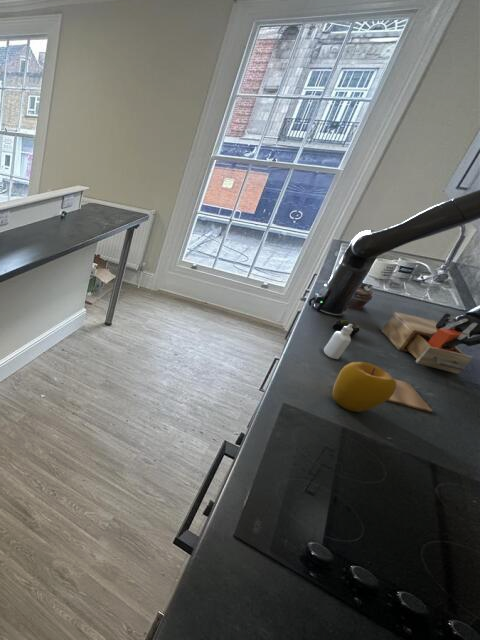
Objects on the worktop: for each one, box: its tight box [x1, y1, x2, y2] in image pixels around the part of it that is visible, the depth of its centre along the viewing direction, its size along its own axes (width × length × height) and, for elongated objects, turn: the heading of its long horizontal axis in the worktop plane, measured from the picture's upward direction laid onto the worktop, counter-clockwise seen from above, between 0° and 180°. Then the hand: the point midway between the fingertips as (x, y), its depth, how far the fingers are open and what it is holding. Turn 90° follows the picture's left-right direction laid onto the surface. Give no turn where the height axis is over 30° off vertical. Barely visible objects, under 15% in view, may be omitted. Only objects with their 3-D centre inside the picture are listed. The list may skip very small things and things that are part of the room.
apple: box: [332, 361, 396, 413], centre depth 107 cm, size 11×11×13 cm
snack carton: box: [428, 329, 462, 351], centre depth 131 cm, size 4×6×10 cm, turn 96°
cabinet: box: [381, 311, 438, 354], centre depth 142 cm, size 15×12×8 cm
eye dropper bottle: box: [323, 324, 353, 360], centre depth 130 cm, size 4×6×12 cm
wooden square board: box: [386, 378, 434, 413], centre depth 118 cm, size 12×14×1 cm
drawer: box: [405, 333, 473, 374], centre depth 132 cm, size 18×11×6 cm, turn 156°
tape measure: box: [332, 319, 360, 337], centre depth 147 cm, size 7×7×4 cm
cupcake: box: [346, 281, 374, 310], centre depth 169 cm, size 10×10×10 cm
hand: (437, 343), depth 131 cm, fingers closed on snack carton, 3 cm apart
